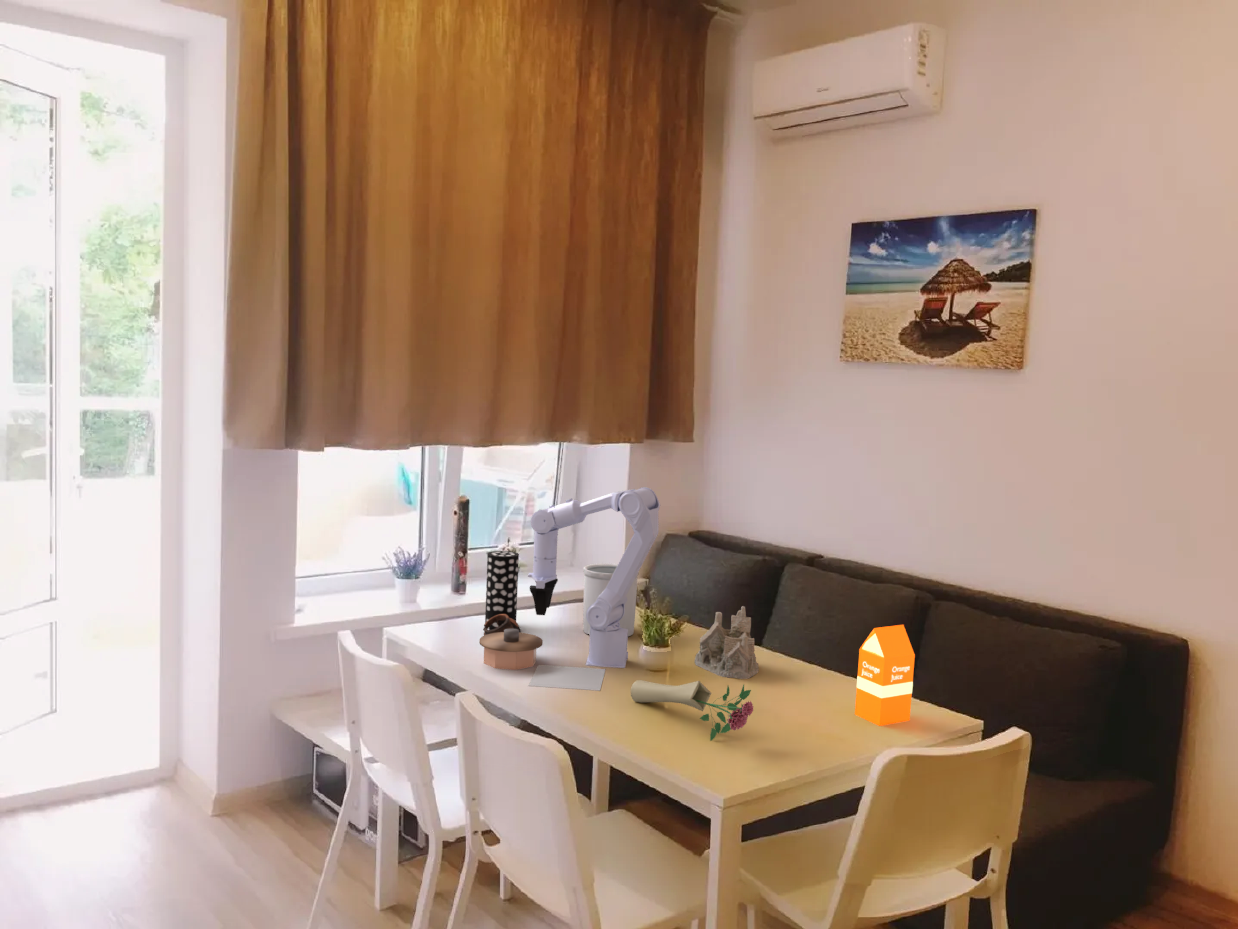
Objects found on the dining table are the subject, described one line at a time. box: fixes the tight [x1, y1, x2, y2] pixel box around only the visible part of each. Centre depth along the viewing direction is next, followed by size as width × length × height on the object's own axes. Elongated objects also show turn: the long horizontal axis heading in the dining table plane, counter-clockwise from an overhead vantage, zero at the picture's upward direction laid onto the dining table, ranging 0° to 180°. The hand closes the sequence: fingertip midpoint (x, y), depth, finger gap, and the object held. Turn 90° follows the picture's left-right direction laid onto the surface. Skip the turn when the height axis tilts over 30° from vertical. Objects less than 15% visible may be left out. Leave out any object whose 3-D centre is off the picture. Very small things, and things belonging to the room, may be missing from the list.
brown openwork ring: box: [482, 614, 522, 636], centre depth 268 cm, size 12×10×8 cm
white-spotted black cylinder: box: [484, 550, 520, 630], centre depth 281 cm, size 8×8×20 cm
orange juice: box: [854, 624, 916, 727], centre depth 223 cm, size 8×9×20 cm
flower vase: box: [630, 679, 754, 742], centre depth 212 cm, size 12×12×35 cm
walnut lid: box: [478, 628, 543, 652], centre depth 249 cm, size 15×15×3 cm
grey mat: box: [527, 664, 606, 692], centre depth 240 cm, size 16×16×1 cm
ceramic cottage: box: [694, 605, 759, 680], centre depth 253 cm, size 16×16×15 cm
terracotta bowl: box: [483, 647, 537, 671], centre depth 249 cm, size 12×12×5 cm
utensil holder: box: [582, 563, 639, 637], centre depth 281 cm, size 15×15×18 cm
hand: (542, 611), depth 259 cm, fingers open, 7 cm apart
